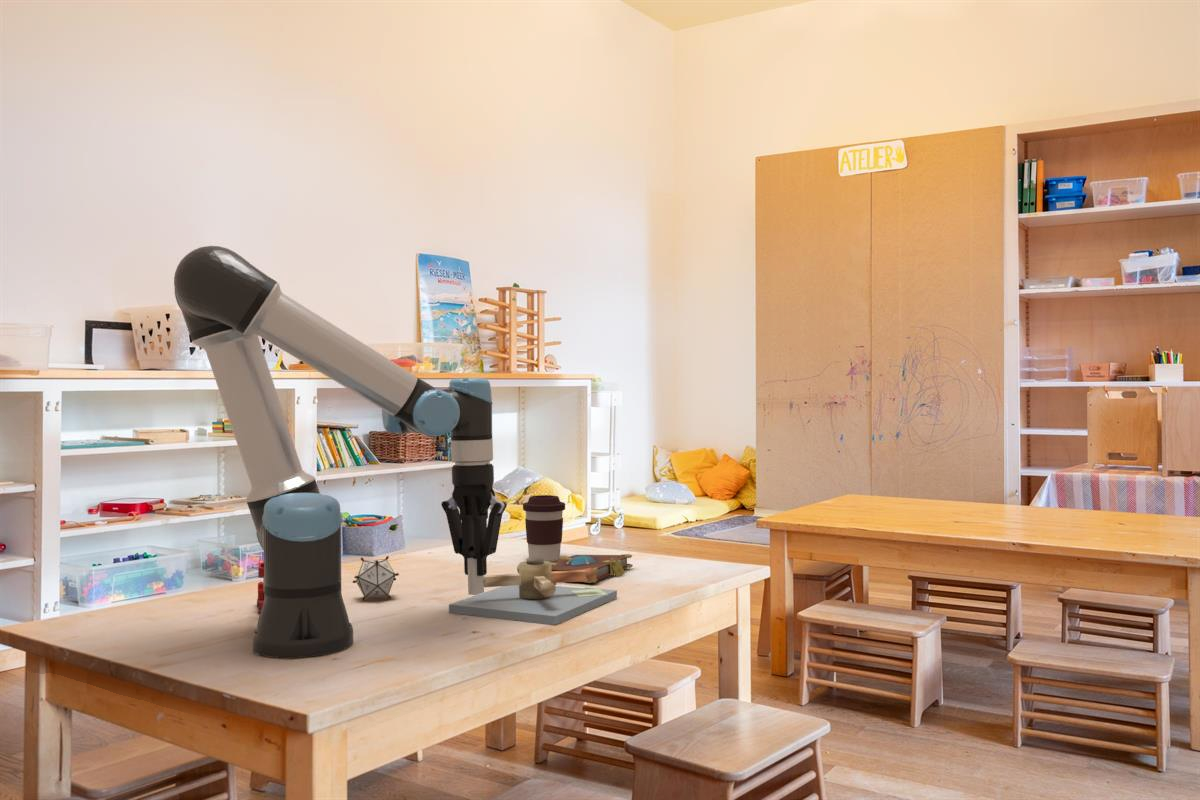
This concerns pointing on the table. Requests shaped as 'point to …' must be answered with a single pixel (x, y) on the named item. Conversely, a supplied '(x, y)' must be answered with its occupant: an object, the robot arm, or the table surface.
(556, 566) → the book
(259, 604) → the toy fire truck
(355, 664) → the table surface
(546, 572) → the capstan
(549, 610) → the plate
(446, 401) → the robot arm
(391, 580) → the game die
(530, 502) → the coffee cup
